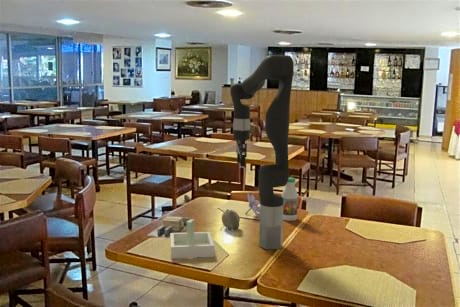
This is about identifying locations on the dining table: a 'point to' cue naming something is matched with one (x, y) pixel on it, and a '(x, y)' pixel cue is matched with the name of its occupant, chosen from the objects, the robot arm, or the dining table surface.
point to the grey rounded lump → (230, 219)
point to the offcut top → (172, 221)
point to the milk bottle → (290, 200)
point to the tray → (199, 249)
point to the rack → (168, 229)
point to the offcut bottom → (175, 226)
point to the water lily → (253, 205)
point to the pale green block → (190, 232)
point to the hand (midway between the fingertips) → (241, 164)
